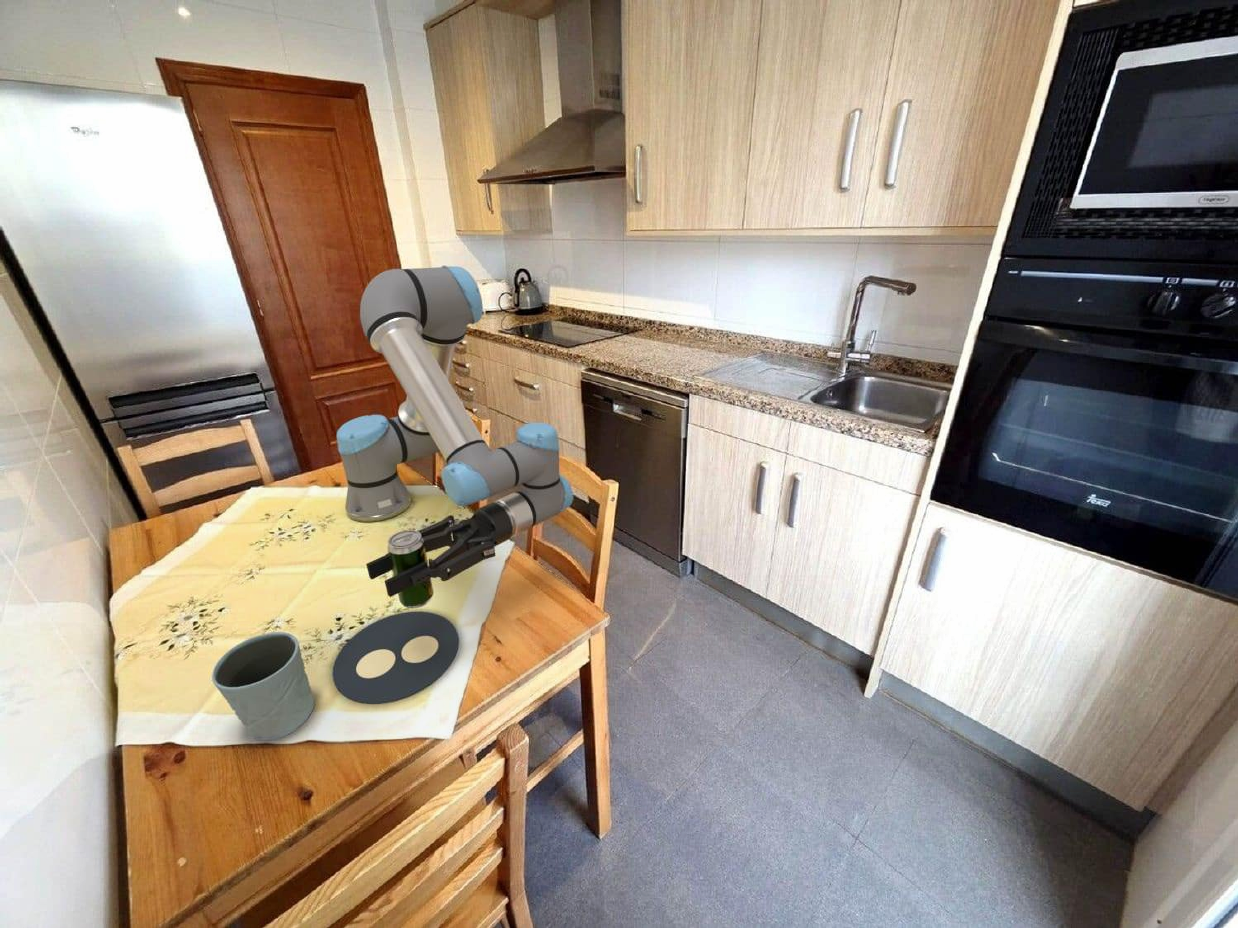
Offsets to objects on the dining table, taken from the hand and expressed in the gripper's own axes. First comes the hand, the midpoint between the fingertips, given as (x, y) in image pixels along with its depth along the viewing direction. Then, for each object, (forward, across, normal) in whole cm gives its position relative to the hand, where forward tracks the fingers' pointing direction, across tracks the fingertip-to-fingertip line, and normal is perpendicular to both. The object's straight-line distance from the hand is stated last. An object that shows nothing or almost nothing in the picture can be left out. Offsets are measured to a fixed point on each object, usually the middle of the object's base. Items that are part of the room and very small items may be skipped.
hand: (378, 580), depth 77 cm
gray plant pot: (+17, +3, -18) cm, 25 cm away
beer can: (-5, 0, -7) cm, 9 cm away
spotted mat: (-1, +2, -18) cm, 18 cm away
